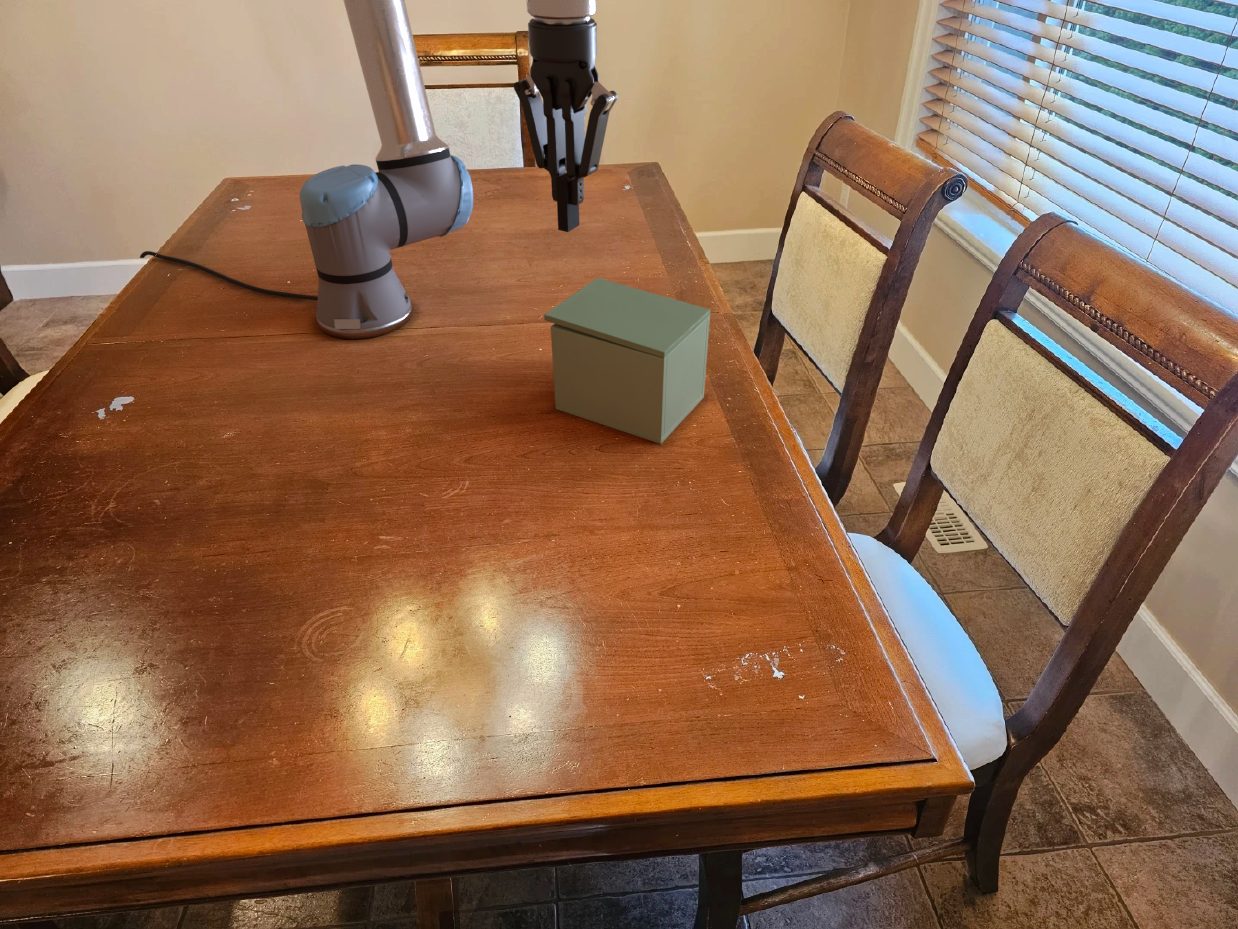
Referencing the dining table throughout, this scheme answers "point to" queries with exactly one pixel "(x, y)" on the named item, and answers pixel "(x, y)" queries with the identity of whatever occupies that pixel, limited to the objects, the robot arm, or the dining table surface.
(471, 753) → the dining table surface
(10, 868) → the dining table surface
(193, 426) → the dining table surface
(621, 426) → the chest
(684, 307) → the lid
